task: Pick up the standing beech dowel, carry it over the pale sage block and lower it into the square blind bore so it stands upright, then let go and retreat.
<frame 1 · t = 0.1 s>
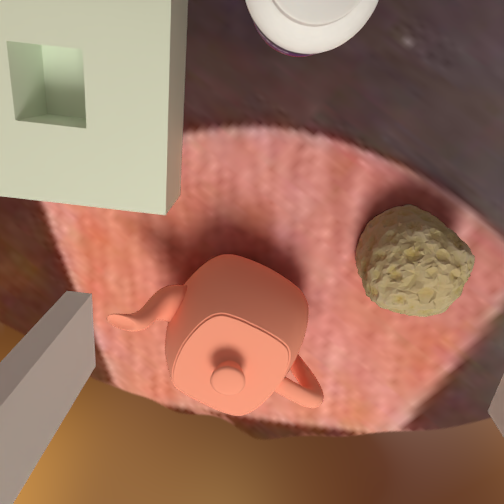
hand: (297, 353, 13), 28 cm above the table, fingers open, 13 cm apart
bore block: (81, 83, 37), on the table
pill bottle: (300, 2, 34), on the table
teapot: (232, 301, 45), on the table
decorative object: (401, 249, 42), on the table
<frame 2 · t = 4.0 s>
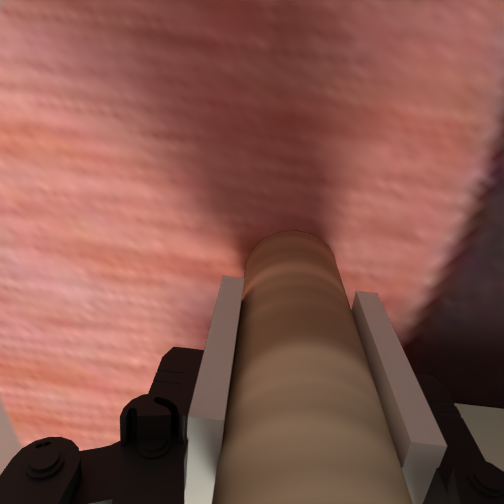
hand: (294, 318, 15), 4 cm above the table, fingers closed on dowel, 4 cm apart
dowel: (290, 273, 19), on the table, touching gripper
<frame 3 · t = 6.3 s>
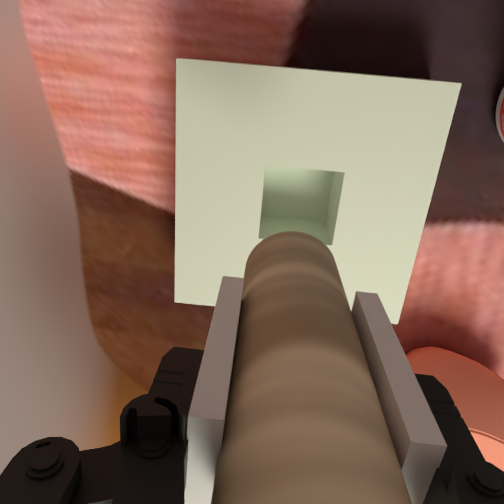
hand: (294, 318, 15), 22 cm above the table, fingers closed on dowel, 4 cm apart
bore block: (296, 184, 36), on the table
dowel: (290, 273, 19), point 19 cm above the table, touching gripper
teapot: (416, 384, 44), on the table
when the fingers open (7 cm above the table, at t = 8.8 s): dowel drops 2 cm, resting on bore block.
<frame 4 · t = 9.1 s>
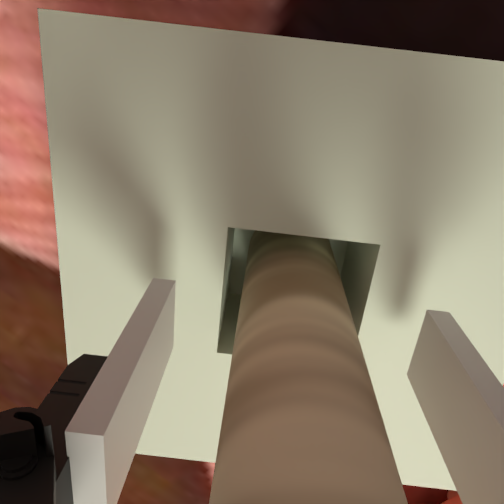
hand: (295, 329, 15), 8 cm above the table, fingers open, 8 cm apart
bore block: (288, 243, 22), on the table
dowel: (289, 251, 21), point 1 cm above the table, touching bore block
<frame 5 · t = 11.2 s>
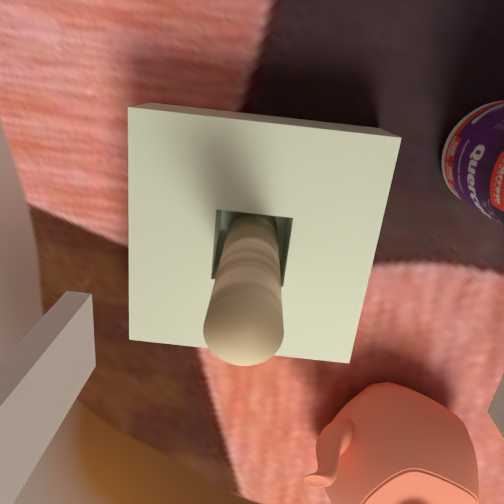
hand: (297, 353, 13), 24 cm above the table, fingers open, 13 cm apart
bore block: (253, 223, 37), on the table
dowel: (253, 227, 36), point 1 cm above the table, touching bore block
pill bottle: (487, 153, 34), on the table
teapot: (375, 418, 45), on the table
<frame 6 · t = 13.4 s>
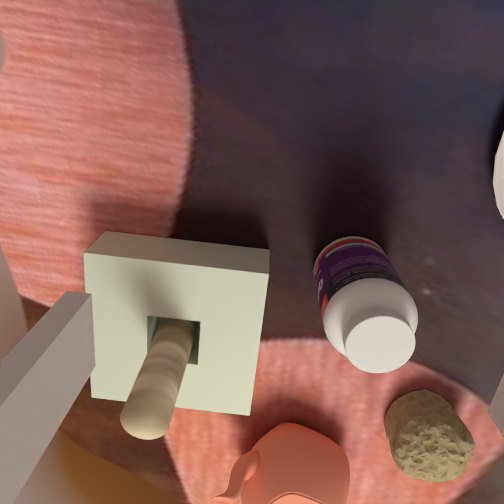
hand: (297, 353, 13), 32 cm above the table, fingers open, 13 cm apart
bore block: (184, 310, 50), on the table
dowel: (182, 315, 49), point 1 cm above the table, touching bore block
pill bottle: (349, 266, 47), on the table
teapot: (287, 447, 58), on the table
decorative object: (418, 416, 55), on the table
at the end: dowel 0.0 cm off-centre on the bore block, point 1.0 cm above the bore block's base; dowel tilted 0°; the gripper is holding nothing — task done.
